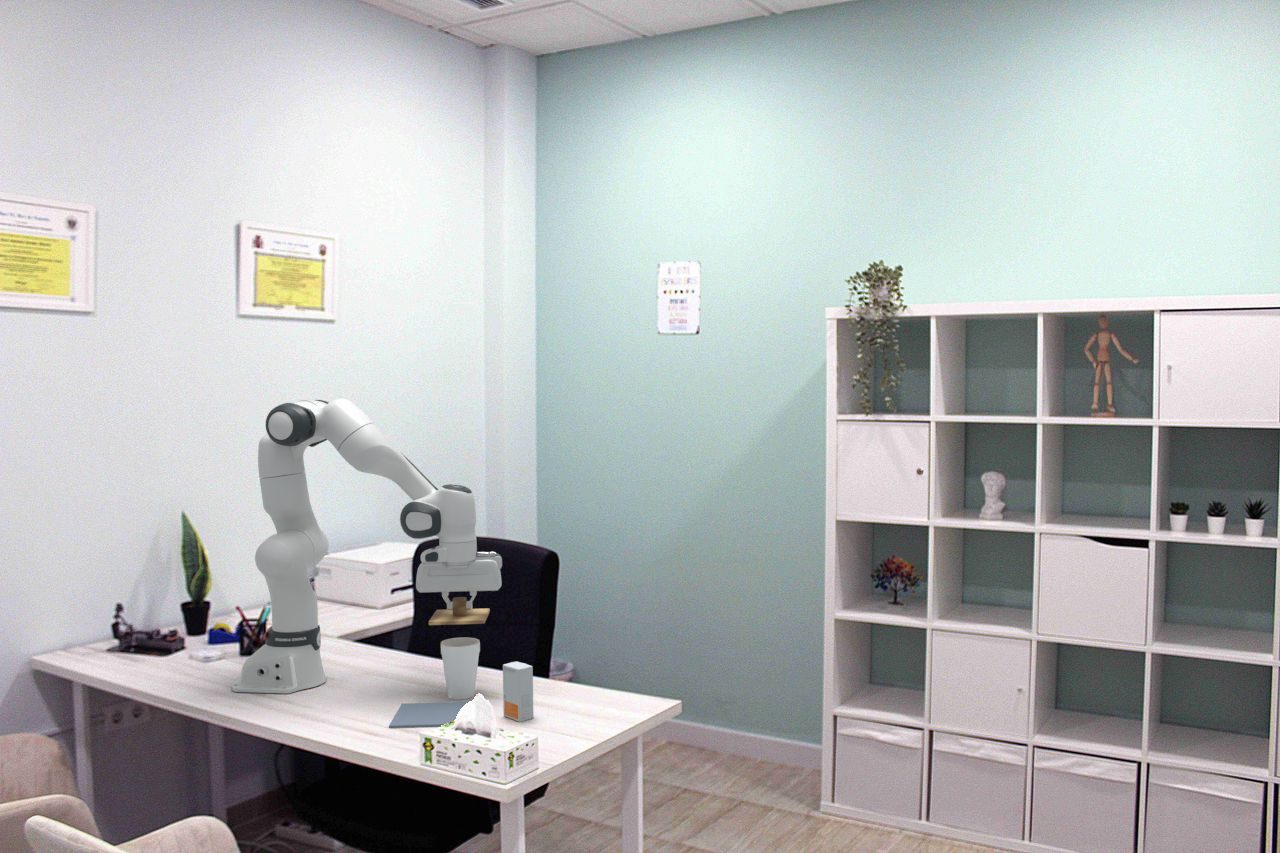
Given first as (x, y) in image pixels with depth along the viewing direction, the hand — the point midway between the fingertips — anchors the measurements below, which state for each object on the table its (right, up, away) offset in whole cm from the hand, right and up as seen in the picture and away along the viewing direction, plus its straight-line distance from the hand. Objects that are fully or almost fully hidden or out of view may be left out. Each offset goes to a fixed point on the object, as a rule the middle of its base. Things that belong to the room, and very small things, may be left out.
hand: (459, 609), depth 258 cm
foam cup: (0, -21, +1) cm, 21 cm away
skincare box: (+16, -22, -16) cm, 31 cm away
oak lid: (0, -2, 0) cm, 2 cm away
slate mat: (-3, -22, -14) cm, 26 cm away
